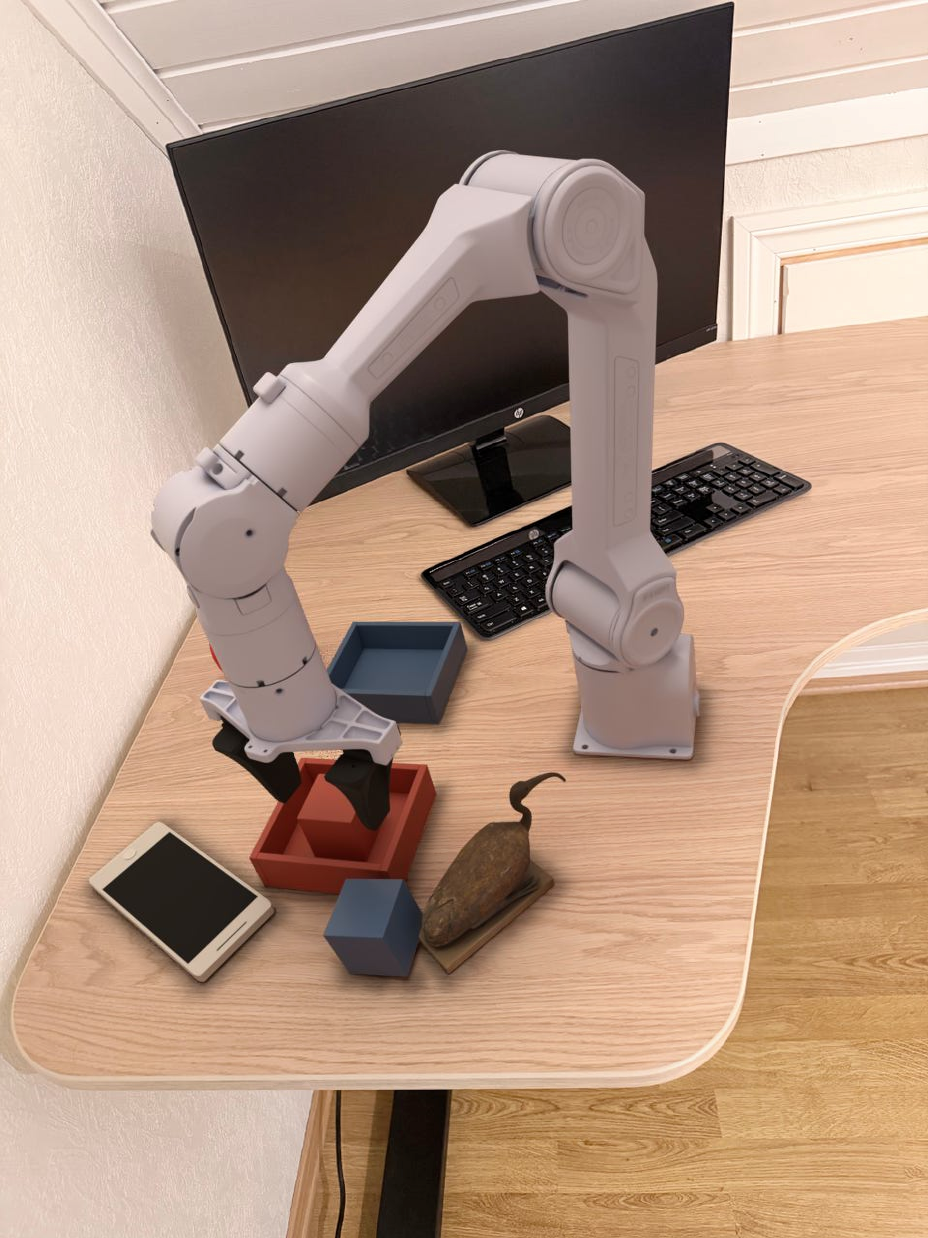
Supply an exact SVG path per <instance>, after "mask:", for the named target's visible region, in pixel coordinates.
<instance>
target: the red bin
mask: <svg viewBox="0 0 928 1238" xmlns="http://www.w3.org/2000/svg"><path fill="white" fill-rule="evenodd" d="M336 760H337V759H335V758H334V759H333V758H315V757H300V759H299V761H298V762H297V764H298V767H299V770H300V775H301V781H302V784H301V785H300V786H299V787H298V789H297V790H296V791H295V792H294V794H293V795H292V796H291V797H290V799H289V800H288V801H287V803H286V804H284V803H281V802H278V801H277V803H276V805H275V807H274V809H273V811H272V812H271V815H270V816H269V818H268V821H267V822H266V824H265V826H264V828H263V830H262V832H261V834H260V836H259V838H258V839H257V842H256V843H255V845H254V847H253V849H252V851H251V853H250V855H249V856H248V859H249V861H250V862H251V864H252V866H253V868H254V870H255V872H256V874H257V876H258V877H259V879H260V881H261V883H262V885H263V887H269V888H278V889H287V890H294V891H295V890H298V891H306V892H313V893H314V892H315V893H323V894H324V893H325V894H332V895H333V894H335V895H340V892H341V890H342V888H343V885H344V883H345V880H346V879H403V880H404V882H405V883H406V881H407V878H408V876H409V872H410V870H411V867H412V864H413V862H414V859H415V856H416V853H417V850H418V848H419V845H420V842H421V840H422V836H423V833H424V830H425V828H426V825H427V822H428V819H429V816H430V813H431V812H432V809H433V805H434V802H435V799H436V797H437V791H436V788H435V785H434V781H433V778H432V775H431V772H430V769H429V765H428V764H423V763H421V764H419V763H405V762H404V763H403V762H392V767H391V773H390V788H389V792H390V812H389V813H388V815H387V816H386V817H385V819H384V820H383V822H382V824H381V827H380V829H379V832H378V834H377V837H376V839H375V842H374V844H373V847H372V849H371V852H370V854H369V857H368V859H367V861H364V860H354V859H343V858H332V857H322V856H314V854H313V852H312V850H311V848H310V845H309V843H308V841H307V839H306V837H305V835H304V833H303V830H302V828H301V826H300V824H299V822H298V820H297V817H298V815H299V813H300V811H301V809H302V807H303V805H304V803H305V801H306V799H307V797H308V795H309V793H310V791H311V789H312V787H313V784H314V782H315V780H316V778H317V776H318V774H326V773H327V772H328V770H329V769H330V768H331V767H332V765H333V764H334V763H335V761H336Z"/></svg>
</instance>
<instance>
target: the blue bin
mask: <svg viewBox="0 0 928 1238" xmlns="http://www.w3.org/2000/svg"><path fill="white" fill-rule="evenodd" d="M468 651H469V649H468V645H467V641H466V638H465V633H464V630H463V625H462V622H461V621H352V622H351V624H350V626H349V628H348V630H347V631H346V633H345V635H344V636H343V639H342V641H341V642H340V645H339V647H338V648H337V650H336V651H335V653H334V655H333V657H332V659H331V661H330V663H329V665H328V666H327V668H326V670H327V673H328V675H329V678H330V681H331V683H332V684H333V685H335V686H336V687H338V688H339V689H340V690H342V691H343V692H345V693H346V694H348V695H349V696H351V697H352V698H353V699H355V700H356V701H358V702H359V703H361V704H362V705H364V706H365V707H366V708H368V709H369V710H371V711H372V712H374V713H376V714H377V715H379V716H381V717H383V718H386V719H390V720H393V721H396V724H417V725H418V724H420V725H440V724H441V722H442V719H443V716H444V713H445V711H446V708H447V706H448V703H449V701H450V698H451V695H452V693H453V690H454V687H455V685H456V681H457V679H458V677H459V674H460V671H461V668H462V667H463V663H464V661H465V658H466V656H467V653H468Z"/></svg>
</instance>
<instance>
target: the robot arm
mask: <svg viewBox="0 0 928 1238" xmlns="http://www.w3.org/2000/svg"><path fill="white" fill-rule="evenodd" d="M645 205H646V194H645V192H644V191H643V190H642V189H640V188H639V186H637V185H636V184H635V183H633V181H631V180H630V179H629V178H628V177H627V176H626V175H624V174H623V173H621V171H620V170H619V169H618V168H616V167H615V166H613V165H611V163H609V162H606V161H604V160H603V159H597V158H580V159H567V158H556V157H546V156H536V155H526V154H520V153H518V152H516V151H510V150H505V149H503V150H502V149H501V150H493V151H490V152H487V153H485V154H482V155H481V156H480V157H478V158H477V159H475V160H474V161H473V162H472V163H471V164H470V165H469V166H468V167H467V169H466V170H465V171H464V173H463V175H462V176H461V178H460V180H459V183H454V184H453V185H452V186H450V187H449V188H448V189H447V190H445V191H444V192H443V193H442V194H441V195H440V196H439V198H438V199H437V200H436V203H435V206H434V208H433V211H432V213H431V215H430V218H429V220H428V223H427V225H426V226H425V228H424V229H423V231H422V232H421V234H420V235H419V236H418V237H417V239H415V241H414V243H412V245H411V246H410V248H409V249H408V250H407V251H406V252H405V254H404V256H403V257H401V259H400V260H399V261H398V263H397V264H396V265H395V267H394V268H393V269H392V271H390V273H389V274H388V275H387V277H385V279H384V281H383V282H382V283H381V285H380V286H379V287H378V288H377V290H376V291H375V292H374V293H373V294H372V296H371V297H370V298H369V300H368V301H367V302H366V303H365V305H364V306H363V307H362V308H361V310H360V311H359V312H358V313H357V315H356V316H355V317H354V319H353V320H352V321H351V322H350V324H349V325H348V326H347V328H346V329H345V330H344V331H343V332H342V334H341V335H340V336H339V338H338V339H337V341H335V343H334V344H333V345H332V346H331V348H330V349H329V350H328V352H327V353H326V355H324V357H323V358H321V359H318V360H312V361H302V362H291V363H288V364H287V365H286V366H285V367H284V368H283V369H282V370H281V371H280V372H279V374H278V375H277V376H276V375H274V374H273V373H271V372H269V371H268V372H265V373H264V375H262V377H260V379H259V380H258V382H256V383H255V385H254V386H253V387H252V390H253V392H254V393H255V394H256V395H257V396H258V397H257V399H255V401H254V402H253V403H252V404H251V405H250V406H249V408H247V410H246V411H245V412H244V413H243V415H241V416H240V418H239V419H238V420H236V422H235V423H234V424H233V426H232V427H231V428H230V429H229V430H228V431H227V432H226V433H225V435H224V436H222V438H221V439H220V440H219V443H216V445H215V446H214V447H213V448H212V449H211V448H210V447H208V446H205V447H204V448H203V449H202V450H201V451H200V452H199V454H197V456H196V457H195V459H194V461H195V463H196V464H197V465H194V466H191V467H190V469H189V470H187V471H185V470H184V469H182V470H179V472H177V473H175V474H173V475H172V476H171V477H170V478H169V479H168V480H166V481H165V482H164V484H163V485H162V486H161V487H160V488H159V490H158V492H157V494H156V495H155V498H154V500H153V502H152V506H153V507H154V508H153V511H151V512H150V522H151V527H152V528H151V529H150V531H149V534H150V537H152V539H153V540H154V542H155V544H157V546H158V547H159V548H160V549H161V550H162V551H163V552H164V553H166V554H167V555H168V557H169V559H170V560H171V561H172V562H173V564H174V565H175V567H176V568H177V570H178V571H179V572H180V574H181V576H182V578H183V580H184V582H185V584H186V593H187V595H188V597H189V599H190V601H191V602H192V604H193V605H194V606H195V613H196V617H197V620H198V622H199V624H200V627H201V628H202V631H203V632H204V634H205V637H206V639H207V641H208V644H209V643H210V645H211V647H212V650H213V652H214V654H215V656H216V658H217V660H218V662H219V664H220V667H221V669H222V671H223V672H222V671H221V672H222V673H223V675H224V676H225V679H226V680H223V679H216V680H215V681H214V682H213V683H212V684H211V685H210V686H209V687H208V688H207V689H206V691H204V692H203V694H202V695H201V696H199V702H200V704H201V705H202V708H203V710H204V711H205V713H206V716H207V717H208V719H209V720H211V721H212V720H213V721H216V722H219V721H221V722H222V723H221V729H220V730H219V731H218V732H217V733H216V734H215V736H214V737H213V739H212V742H211V745H212V747H213V749H214V751H215V752H217V753H219V754H222V755H224V756H225V757H227V758H229V759H231V760H232V761H233V762H234V763H236V764H238V765H239V766H241V767H242V768H243V769H244V770H246V771H247V772H248V773H250V775H251V776H252V777H253V778H254V779H255V780H256V781H257V782H258V783H259V784H260V785H261V786H262V787H263V788H264V789H265V790H266V791H267V792H268V793H269V795H271V796H272V797H273V798H274V800H276V801H277V803H278V802H281V803H284V804H286V803H287V801H288V800H289V799H290V797H291V796H292V795H293V794H294V792H295V791H296V790H297V789H298V787H299V786H300V785H301V784H302V781H301V775H300V770H299V767H298V762H297V759H296V756H295V753H298V752H299V753H300V752H318V751H340V750H341V751H342V754H339V756H338V758H336V759H335V760H336V761H335V763H334V764H333V765H332V767H331V768H330V769H329V770H328V772H327V773H326V774H325V776H324V778H325V781H327V782H329V783H330V784H332V785H334V786H335V787H336V788H338V789H339V790H340V791H341V792H342V793H343V794H344V795H345V796H346V798H347V799H348V800H349V802H350V803H351V805H352V806H353V808H354V810H355V812H356V814H357V816H358V818H359V820H360V822H361V823H362V824H363V825H364V826H365V827H366V828H367V829H369V830H372V831H376V830H377V829H378V828H379V826H380V825H381V823H382V822H383V820H384V819H385V817H386V816H387V815H388V813H389V812H390V792H389V788H390V773H391V767H392V763H394V758H395V755H396V754H397V752H398V751H399V749H400V748H401V746H402V745H403V743H404V742H403V739H402V732H401V730H400V726H399V725H398V723H396V721H393V720H390V719H386V718H383V717H381V716H379V715H377V714H376V713H374V712H372V711H371V710H369V709H368V708H366V707H365V706H364V705H362V704H361V703H359V702H358V701H356V700H355V699H353V698H352V697H351V696H349V695H348V694H346V693H345V692H343V691H342V690H340V689H339V688H338V687H336V686H335V685H333V684H332V683H331V681H330V678H329V675H328V673H327V668H326V664H325V662H324V660H323V657H322V655H321V652H320V649H319V647H318V644H317V641H316V639H315V637H314V634H313V631H312V628H311V627H310V624H309V621H308V618H307V615H306V613H305V610H304V608H303V605H302V602H301V600H300V598H299V595H298V592H297V589H296V586H295V584H294V581H293V579H292V578H291V576H290V575H289V574H288V573H287V569H286V567H285V563H286V560H287V558H288V553H289V545H290V535H291V533H292V531H293V528H295V526H297V524H298V522H297V521H296V520H297V519H298V518H299V516H300V515H301V514H302V513H303V512H304V510H306V509H307V508H308V506H309V505H310V504H311V503H312V502H313V501H314V500H315V499H316V497H318V495H319V494H320V493H321V492H322V491H323V490H324V488H326V486H327V485H328V484H329V483H330V481H331V480H333V478H334V477H335V476H336V475H337V474H338V472H339V471H340V470H342V468H343V467H345V465H346V464H347V462H348V461H349V460H350V459H351V458H352V456H353V455H354V454H355V453H356V452H357V451H358V450H359V449H360V447H361V446H362V445H363V444H364V443H365V442H366V441H367V440H368V438H369V436H370V407H371V403H372V402H373V401H374V400H375V399H376V398H377V397H378V396H379V395H380V394H381V393H382V392H383V391H384V390H385V389H386V388H387V387H388V386H389V385H390V384H391V383H392V382H393V381H394V380H395V379H396V378H397V377H398V376H399V375H400V374H401V373H402V372H403V371H404V370H405V369H406V368H407V367H408V366H409V365H410V364H411V363H412V362H413V361H414V360H415V359H416V358H417V357H418V356H419V355H420V354H421V353H422V352H423V351H424V350H425V349H426V348H427V347H428V346H429V345H430V344H431V343H432V342H433V341H434V340H435V339H436V338H437V337H438V336H439V335H440V334H441V333H442V332H443V331H444V330H445V329H446V328H447V327H448V326H449V325H450V324H452V322H453V321H454V320H455V319H456V318H457V317H458V316H459V315H460V314H461V313H462V312H463V311H464V310H465V309H466V308H467V307H468V306H469V305H470V304H472V303H475V302H478V301H487V300H495V299H503V298H513V297H520V296H529V295H536V294H537V293H539V292H540V291H541V292H542V293H543V294H545V295H546V296H547V297H548V298H549V299H550V300H552V301H553V302H555V303H556V304H557V305H559V307H561V308H562V309H563V310H564V311H565V312H566V315H567V332H568V333H567V334H568V335H567V337H568V339H567V341H568V380H569V382H568V383H569V428H570V429H569V431H570V471H571V474H570V476H571V478H570V479H571V517H572V522H571V523H572V524H571V525H572V529H571V530H569V531H568V532H566V533H564V534H563V535H562V536H561V537H559V538H558V539H556V541H555V542H554V543H553V551H554V552H553V553H554V555H553V556H554V557H553V564H552V567H551V570H550V572H549V575H548V578H547V580H546V584H545V600H546V604H547V606H548V609H549V610H550V611H551V612H552V613H553V614H554V615H555V616H557V617H559V618H561V619H564V622H565V629H566V633H567V634H568V635H569V642H570V647H571V653H572V659H573V666H574V671H575V677H576V684H577V689H578V690H577V691H578V695H579V701H580V707H581V709H580V712H579V718H578V723H577V727H576V730H575V736H574V741H573V745H572V751H573V753H574V754H576V755H585V756H588V755H590V756H609V757H625V758H626V757H627V758H628V757H629V758H630V757H631V758H648V759H649V758H650V759H666V760H667V759H668V760H669V759H672V760H690V759H692V758H693V756H694V746H695V733H696V724H697V718H699V717H700V711H701V709H700V707H701V702H700V701H701V699H700V694H699V690H698V682H697V665H696V649H695V648H696V647H695V639H694V636H693V634H690V633H683V632H682V630H683V625H684V621H685V607H684V603H683V601H682V598H681V597H680V595H679V592H678V589H677V570H676V568H675V566H674V565H673V563H672V561H671V559H669V557H668V555H667V554H666V553H665V551H664V550H663V548H662V547H661V545H660V544H659V542H658V541H657V540H656V538H655V537H654V535H653V533H652V531H651V515H652V514H651V513H652V512H651V509H652V478H653V477H652V476H653V447H654V446H653V444H654V442H653V441H654V414H655V413H654V412H655V411H654V409H655V383H656V382H655V379H656V378H655V377H656V351H657V349H656V348H657V316H658V313H657V312H658V286H659V285H658V272H657V268H656V265H655V262H654V259H653V256H652V254H651V250H650V248H649V245H648V242H647V239H646V236H645V213H646V211H645V210H646V207H645Z"/></svg>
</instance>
